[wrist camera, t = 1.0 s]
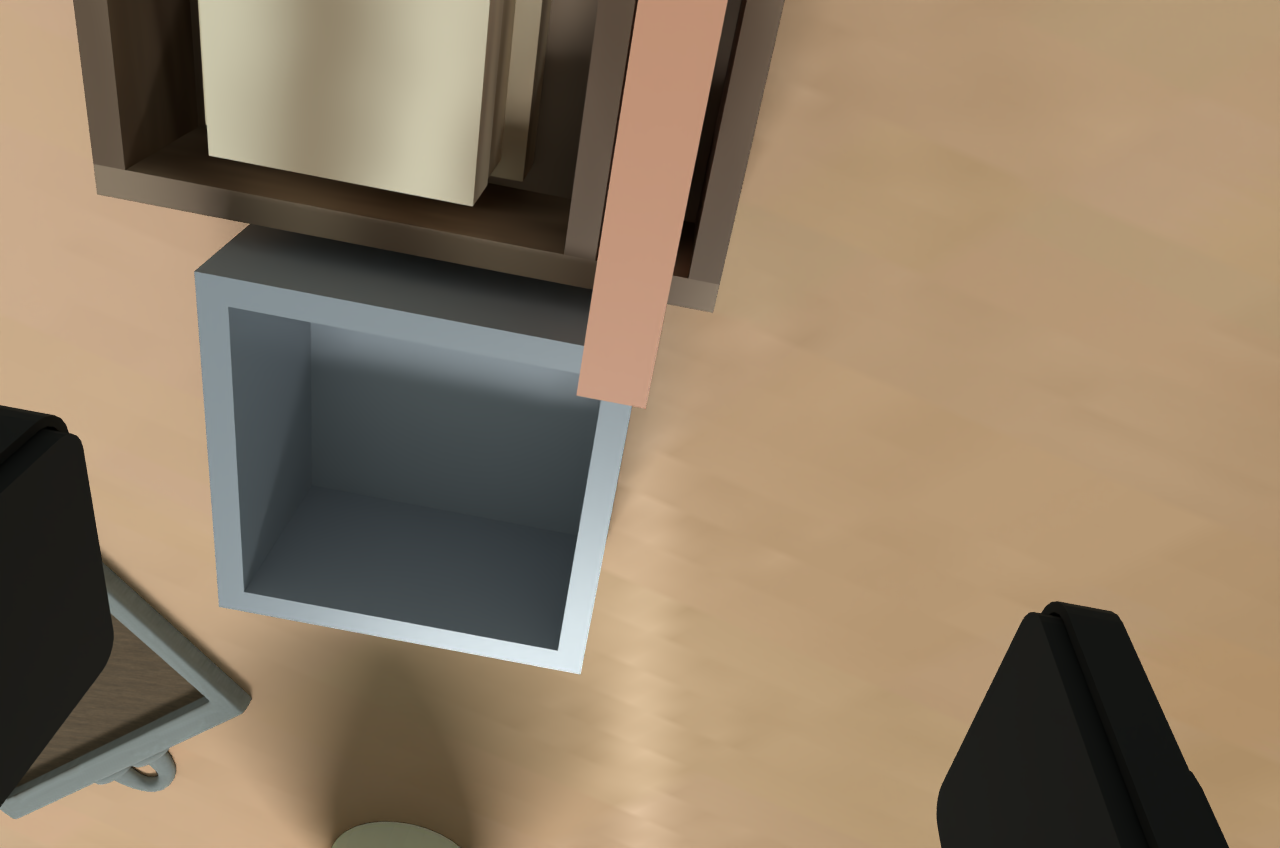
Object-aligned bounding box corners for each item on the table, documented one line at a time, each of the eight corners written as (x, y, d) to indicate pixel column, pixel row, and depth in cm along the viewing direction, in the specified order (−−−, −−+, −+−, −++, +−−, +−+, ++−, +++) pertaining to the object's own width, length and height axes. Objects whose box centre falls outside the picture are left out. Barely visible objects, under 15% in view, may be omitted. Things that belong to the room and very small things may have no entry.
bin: (659, 258, 38) (641, 357, 31) (604, 544, 45) (580, 674, 39) (293, 187, 38) (194, 271, 31) (297, 486, 45) (219, 606, 38)
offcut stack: (569, -160, 30) (534, -153, 25) (533, 163, 36) (497, 224, 30) (240, -225, 30) (137, -231, 25) (252, 109, 35) (169, 160, 30)
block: (743, -125, 30) (742, -74, 18) (681, 192, 36) (645, 408, 23) (691, -136, 30) (652, -92, 18) (636, 183, 36) (576, 395, 23)
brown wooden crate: (813, -191, 30) (828, -190, 25) (717, 243, 38) (712, 312, 32) (151, -323, 30) (29, -349, 25) (185, 141, 37) (97, 194, 32)
